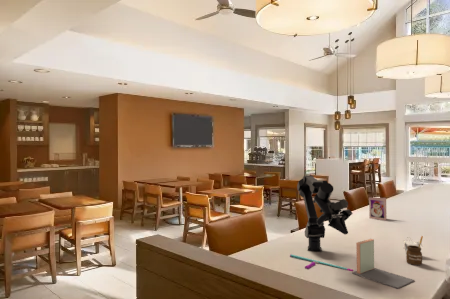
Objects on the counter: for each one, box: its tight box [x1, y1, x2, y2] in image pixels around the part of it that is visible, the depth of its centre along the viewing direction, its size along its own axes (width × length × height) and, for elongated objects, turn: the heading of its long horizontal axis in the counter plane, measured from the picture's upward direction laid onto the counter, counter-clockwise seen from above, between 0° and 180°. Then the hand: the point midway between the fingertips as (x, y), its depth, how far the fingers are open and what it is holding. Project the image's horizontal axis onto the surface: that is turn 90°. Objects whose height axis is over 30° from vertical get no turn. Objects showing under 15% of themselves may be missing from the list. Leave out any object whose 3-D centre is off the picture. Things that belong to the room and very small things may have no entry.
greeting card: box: [368, 197, 387, 221], centre depth 233 cm, size 11×7×15 cm, turn 43°
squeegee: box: [289, 253, 354, 272], centre depth 138 cm, size 29×2×10 cm
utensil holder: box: [405, 235, 424, 266], centre depth 141 cm, size 6×6×12 cm
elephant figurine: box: [403, 240, 424, 253], centre depth 152 cm, size 8×10×7 cm
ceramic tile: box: [355, 238, 375, 274], centre depth 131 cm, size 2×10×12 cm, turn 124°
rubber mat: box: [351, 267, 415, 290], centre depth 125 cm, size 18×12×1 cm, turn 34°
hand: (346, 233), depth 138 cm, fingers closed
